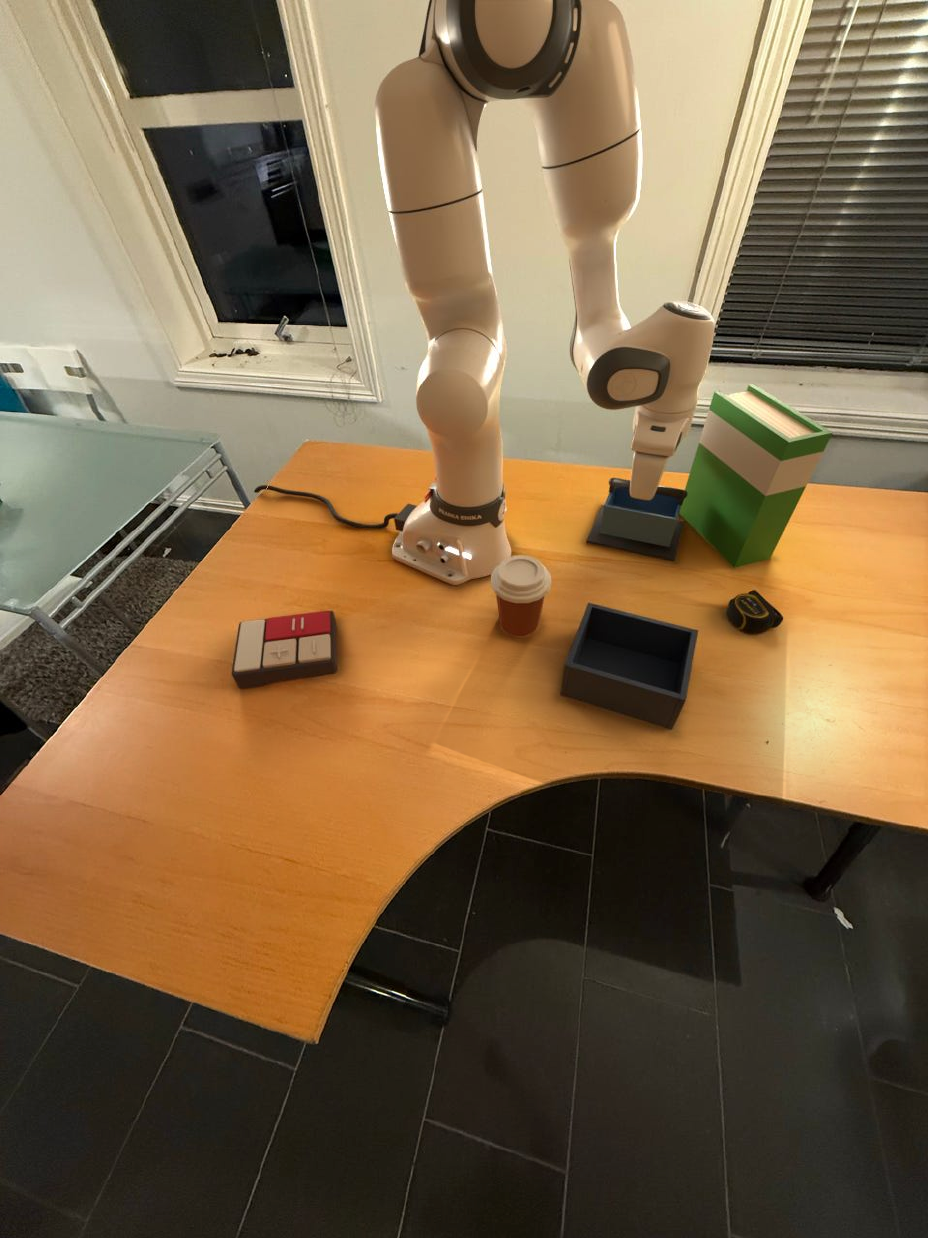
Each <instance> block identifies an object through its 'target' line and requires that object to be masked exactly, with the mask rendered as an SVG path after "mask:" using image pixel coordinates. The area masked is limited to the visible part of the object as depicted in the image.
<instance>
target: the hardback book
mask: <svg viewBox="0 0 928 1238" xmlns="http://www.w3.org/2000/svg"><path fill="white" fill-rule="evenodd" d="M833 434H834V432H833V431H831V429H828V428H827V427H825V426H823V425H822V424H820V423H819V422H817V421H815V420H813V419H812V418H810V417H809V416H807V415H805V414H803V413H802V412H800V411H799V410H797V409H796V408H794V407H792V406H790V405H789V404H788V403H786V402H784V401H782V400H781V399H779V398H778V397H776V396H774V395H773V394H771V393H770V392H768V391H766V390H764V389H763V388H761V387H760V386H758V385H756V384H755V383H750V384H748V385H747V389H746V390H745V391H744V390H743V391H740V392H735V393H730V394H725V393H723V392H722V391H720V390H715V391H713V395H712V398H711V401H710V404H709V408H708V411H707V414H706V418H705V421H704V425H703V428H702V430H701V435H700V437H699V441H698V444H697V447H696V451H695V454H694V458H693V461H692V465H691V468H690V471H689V474H688V478H687V481H686V484H685V488H684V490H686V491H687V493H688V495H687V497H686V498H685V499H684V501H683V504H682V505H681V508H680V512H679V515H681V516H682V518H683V519H684V520H686V522H687V523H688V524H689V525H690V526H691V527H692V528H693V529H694V530H695V531H696V532H697V533H698V534H699V535H700V536H701V537H702V538H703V539H704V540H705V541H706V542H707V543H708V544H709V545H710V546H711V547H712V548H713V549H714V550H715V551H716V552H717V553H718V554H719V555H720V556H721V557H722V558H723V559H724V560H725V561H726V562H727V563H728V564H729V565H730V566H731V567H732V568H733V569H737V568H740V567H744V566H748V565H752V564H756V563H758V562H762V561H767V560H770V559H771V558H772V557H773V554H774V552H775V550H776V549H777V546H778V544H779V542H780V540H781V537H782V535H783V534H784V532H785V530H786V528H787V526H788V524H789V522H790V520H791V518H792V516H793V514H794V512H795V510H796V508H797V505H798V504H799V502H800V500H801V498H802V496H803V494H804V492H805V489H806V488H807V486H808V484H809V481H810V480H811V479H812V475H813V474H814V471H815V470H816V468H817V465H818V463H820V460H821V457H822V456H823V454H824V451H825V450H826V448H827V446H828V443H829V441H830V439H831V437H832V436H833Z"/></svg>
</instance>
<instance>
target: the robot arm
mask: <svg viewBox="0 0 928 1238" xmlns="http://www.w3.org/2000/svg"><path fill="white" fill-rule="evenodd" d="M427 5H428V6H427V11H426V16H425V21H424V27H423V32H422V37H421V42H420V47H419V52H418V56H416V57H414V58H411V59H408V60H405V61H402V62H401V63H399V64H398V65H396V66H395V67H394V68H392V69H391V70H390V71H389V72H388V73H387V74H386V76H385V77H384V78H383V79H382V81H381V83H380V84H379V86H378V89H377V90H376V91H377V92H376V95H375V102H374V114H375V115H374V117H375V129H376V140H377V151H378V159H379V166H380V174H381V179H382V185H383V191H384V197H385V200H386V207H387V210H388V215H389V219H390V224H391V229H392V233H393V237H394V242H395V246H396V251H397V256H398V259H399V265H400V269H401V274H402V278H403V282H404V286H405V288H406V290H407V292H408V294H409V295H410V296H411V297H412V299H413V301H414V303H415V305H416V308H417V310H418V313H419V316H420V318H421V321H422V324H423V327H424V330H425V334H426V339H427V353H426V356H425V358H424V360H423V362H422V364H421V366H420V367H419V370H418V373H417V377H416V388H415V405H416V411H417V414H418V417H419V418H420V420H421V422H422V424H424V426H425V428H426V432H427V435H428V437H429V441H430V444H431V449H432V454H433V462H434V473H435V477H434V482H432V483H431V484H430V486H429V487H428V491H427V492H426V493H425V495H424V497H423V499H424V501H422V502H420V503H419V504H418V505H417V504H411V503H407V504H406V505H405V506H404V507H403V508H402V509H401V511H399V512H392V513H388V514H386V515H385V516H384V518H383V522H381V523H376V524H367V523H360V522H356V521H353V520H350V519H347V518H344V517H342V516H340V515H339V513H337V511H336V509H335V508H334V506H333V504H332V503H331V502H330V501H329V499H327V498H325V497H324V496H323V495H320V494H316V493H312V492H307V491H300V490H292V489H291V490H290V489H286V488H285V489H284V488H281V487H277V486H274V485H269V484H261V485H258V486H257V487H255V489H254V490H253V492H254V493H256V494H257V493H260V492H261V491H263V490H264V491H265V490H267V491H272V492H275V493H280V494H284V495H288V496H297V497H298V496H299V497H305V498H311V499H316V500H318V501H320V502H322V503H323V504H324V505H326V507H327V509H328V511H329V513H330V514H331V516H332V517H333V518H334V519H335V520H337V521H338V522H340V523H342V524H345V525H347V526H350V527H353V528H358V529H375V530H376V529H378V530H381V529H385V528H386V527H388V526H389V524H390V520H392V519H393V522H394V525H395V526H394V527H395V531H399V533H398V535H397V536H396V538H395V540H394V542H393V544H392V548H391V551H392V558H393V559H394V560H395V561H397V562H399V563H401V564H404V565H406V566H408V567H411V568H413V569H415V570H418V571H420V572H421V573H424V574H426V575H429V576H431V577H433V578H435V579H438V580H440V581H442V582H444V583H447V584H449V585H451V586H459V585H462V584H464V583H466V582H468V581H470V580H474V579H479V578H484V577H488V576H491V574H492V573H493V571H494V569H495V568H496V567H497V566H499V565H500V563H501V562H502V561H503V560H505V559H506V558H508V557H512V547H511V544H510V542H509V539H508V535H507V529H506V524H505V523H506V522H505V517H506V512H507V500H506V499H507V498H506V486H505V483H504V444H503V439H502V430H501V418H500V397H501V396H500V395H501V389H502V388H501V387H502V383H503V377H504V371H505V367H506V362H507V358H508V357H507V356H508V350H507V342H506V336H505V330H504V324H503V323H504V322H503V318H502V313H501V306H500V302H499V296H498V292H497V287H496V283H495V278H494V273H493V266H492V260H491V259H492V258H491V251H490V243H489V242H490V241H489V234H488V226H487V217H486V207H485V200H484V191H483V184H482V183H483V182H482V176H481V169H480V163H479V156H478V152H479V132H480V131H479V129H480V123H481V120H482V116H483V113H484V112H485V109H486V107H487V106H488V103H490V102H497V101H502V100H504V101H505V100H509V101H510V100H520V101H522V103H523V104H524V105H525V107H526V108H527V111H528V113H529V115H530V117H531V120H532V123H533V126H534V130H535V131H536V137H537V145H538V151H539V152H538V153H539V158H540V165H541V171H542V172H541V173H542V177H543V182H544V186H545V190H546V195H547V199H548V203H549V206H550V210H551V214H552V216H553V219H554V222H555V225H556V227H557V231H558V233H559V235H560V237H561V239H562V242H563V244H564V247H565V250H566V252H567V256H568V262H569V270H570V277H571V285H572V291H573V298H574V308H575V317H574V324H573V329H572V332H571V337H570V342H569V357H570V361H571V363H572V365H573V367H574V368H575V370H576V371H577V373H578V374H579V377H580V379H581V381H582V383H583V385H584V388H585V390H586V392H587V394H588V396H589V398H590V399H591V401H592V402H593V403H594V404H595V405H596V406H598V407H600V408H601V409H604V410H610V411H617V410H624V409H631V408H635V409H634V415H633V421H632V433H633V435H632V440H631V444H630V445H631V446H630V450H631V451H633V455H632V463H631V470H630V471H631V473H630V479H629V480H630V496H631V497H633V498H637V499H642V500H652V498H653V497H654V495H655V493H656V490H657V488H658V485H660V483H661V479H662V477H663V474H664V472H665V469H666V468H667V464H668V463H669V460H670V458H671V457H673V456H674V455H675V453H676V452H677V449H678V447H679V445H680V443H682V441H683V440H684V439H685V438H686V437H687V436H688V435H689V433H690V431H691V427H692V424H693V423H692V422H693V419H694V417H695V413H696V409H697V406H698V401H699V388H700V385H701V383H702V381H703V380H704V378H705V376H706V373H707V369H708V365H709V362H710V357H711V354H712V348H713V344H714V337H715V325H716V324H715V319H714V318H713V316H712V314H711V313H710V312H709V311H708V310H706V308H704V307H702V306H701V305H698V304H695V303H694V302H689V301H684V300H671V301H666V302H664V303H663V304H662V305H661V306H659V308H658V309H656V310H655V312H653V313H652V314H650V315H649V316H648V317H647V318H645V319H643V320H642V321H640V322H638V323H636V324H634V325H633V326H632V325H631V323H630V321H629V320H628V318H627V317H626V315H625V313H624V311H623V310H622V308H621V305H620V302H619V290H618V274H617V259H616V258H617V257H616V243H617V238H618V234H619V232H620V230H621V229H622V227H623V226H624V225H625V224H626V223H627V222H628V220H629V219H630V218H631V216H632V215H633V213H634V211H635V209H636V207H637V205H638V202H639V200H640V194H641V193H640V191H641V182H642V169H643V142H642V140H643V139H642V128H641V127H642V123H641V111H640V102H639V101H640V99H639V93H638V91H639V90H638V85H637V78H636V72H635V66H634V65H635V64H634V60H633V55H632V49H631V44H630V40H629V35H628V29H627V26H626V22H625V19H624V15H623V14H622V12H621V10H620V9H619V7H618V6H617V5H616V4H615V3H614V2H613V1H611V0H429V1H428V4H427ZM268 485H269V486H268ZM267 486H268V488H267ZM266 488H267V489H266Z"/></svg>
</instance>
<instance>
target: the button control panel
mask: <svg viewBox="0 0 928 1238" xmlns="http://www.w3.org/2000/svg"><path fill="white" fill-rule="evenodd" d="M237 628H238V629H237V633H236V634H237V635H236V642H235V647H234V654H233V655H234V656H233V660H232V667H231V676H232V678H233V680H234V682H235V685H236V686H237V687H238V689H239V690H240V689H250V688H256V687H257V688H258V687H263V686H265V685H267V684H269V683H274V682H281V681H287V680H288V681H289V680H295V679H303V678H308V677H310V678H311V677H316V676H323V675H330V674H336V673H337V672H338V635H337V634H338V631H337V630H338V629H337V620H336V616H335V613H334V611H333V610H320V611H312V612H311V611H310V612H305V613H296V614H289V615H281V616H280V615H279V616H272V617H268V618H260V619H253V620H252V619H251V620H246V621H240V622H239V623H238V627H237Z"/></svg>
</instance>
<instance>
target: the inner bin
mask: <svg viewBox="0 0 928 1238" xmlns="http://www.w3.org/2000/svg"><path fill="white" fill-rule="evenodd" d="M630 480H631V479H626V478H619V477H611V478H609V480H608V485H609V486H608V487H609V488H608V495H607V496H606V497H607V498H606V500H605V502H604V503H603V504H604V508H603V514H602V520H601V526H600V531H599V533H603V534H608V535H613V536H618V537H623V538H627V539H632V540H637V541H642V542H647V543H652V544H656V545H661V546H666V547H670V543H671V540H672V537H673V533H674V530H675V527H676V523H677V520H679V515H680V513H679V512H680V508H681V505H682V504H683V501H684V499H685V498H686V497H687V495H688V493H687V491H686V490H685V489H682V488H676V487H671V486H665V485H660V484H659V485H658V488H657V490H656V493H655V495H654V497H653V498H652V500H642V499H637V498H633V497H631V496H630Z"/></svg>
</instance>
